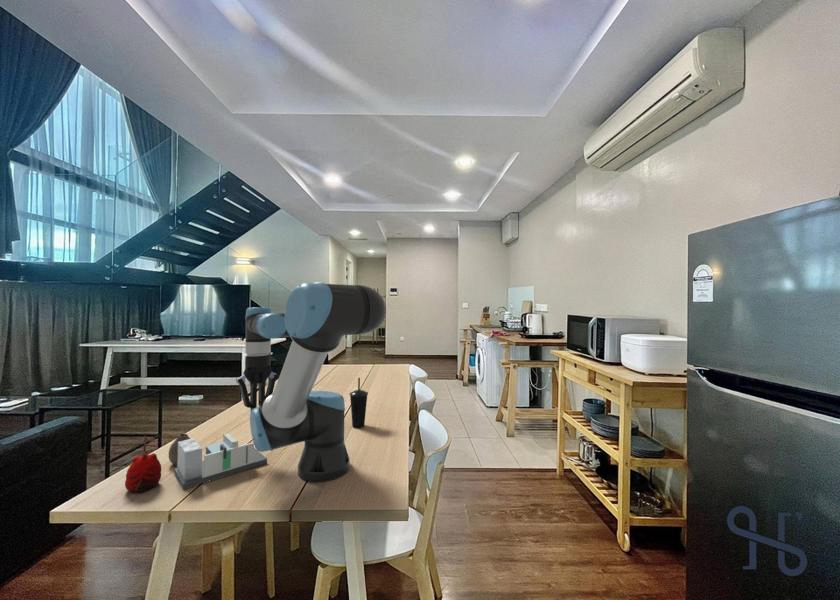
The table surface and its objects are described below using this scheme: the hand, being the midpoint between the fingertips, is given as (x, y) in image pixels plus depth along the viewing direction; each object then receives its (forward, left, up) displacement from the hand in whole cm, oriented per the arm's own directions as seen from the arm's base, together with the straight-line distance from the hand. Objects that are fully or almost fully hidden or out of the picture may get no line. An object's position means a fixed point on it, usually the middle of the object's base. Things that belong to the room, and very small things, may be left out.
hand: (257, 427), depth 110 cm
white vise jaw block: (+1, +18, -9) cm, 20 cm away
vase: (+14, +18, -10) cm, 25 cm away
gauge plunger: (-1, +10, -8) cm, 13 cm away
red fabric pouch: (+3, +28, -10) cm, 30 cm away
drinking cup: (+3, -41, -10) cm, 43 cm away
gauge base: (+1, +10, -10) cm, 14 cm away
